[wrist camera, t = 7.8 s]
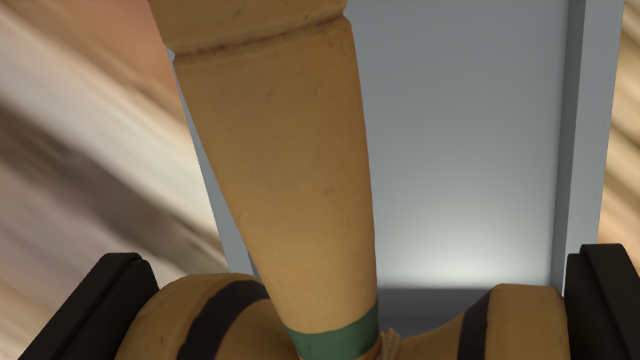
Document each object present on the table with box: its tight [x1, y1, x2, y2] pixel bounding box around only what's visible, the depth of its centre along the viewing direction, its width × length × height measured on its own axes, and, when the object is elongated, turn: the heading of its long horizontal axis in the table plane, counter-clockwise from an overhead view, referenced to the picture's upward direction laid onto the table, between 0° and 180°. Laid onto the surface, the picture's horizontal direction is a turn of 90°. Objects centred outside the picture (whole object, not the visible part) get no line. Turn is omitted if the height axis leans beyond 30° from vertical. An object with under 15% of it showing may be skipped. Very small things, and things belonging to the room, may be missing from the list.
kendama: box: [114, 0, 571, 360], centre depth 9 cm, size 8×6×18 cm
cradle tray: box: [166, 0, 624, 339], centre depth 19 cm, size 24×14×3 cm, turn 9°
